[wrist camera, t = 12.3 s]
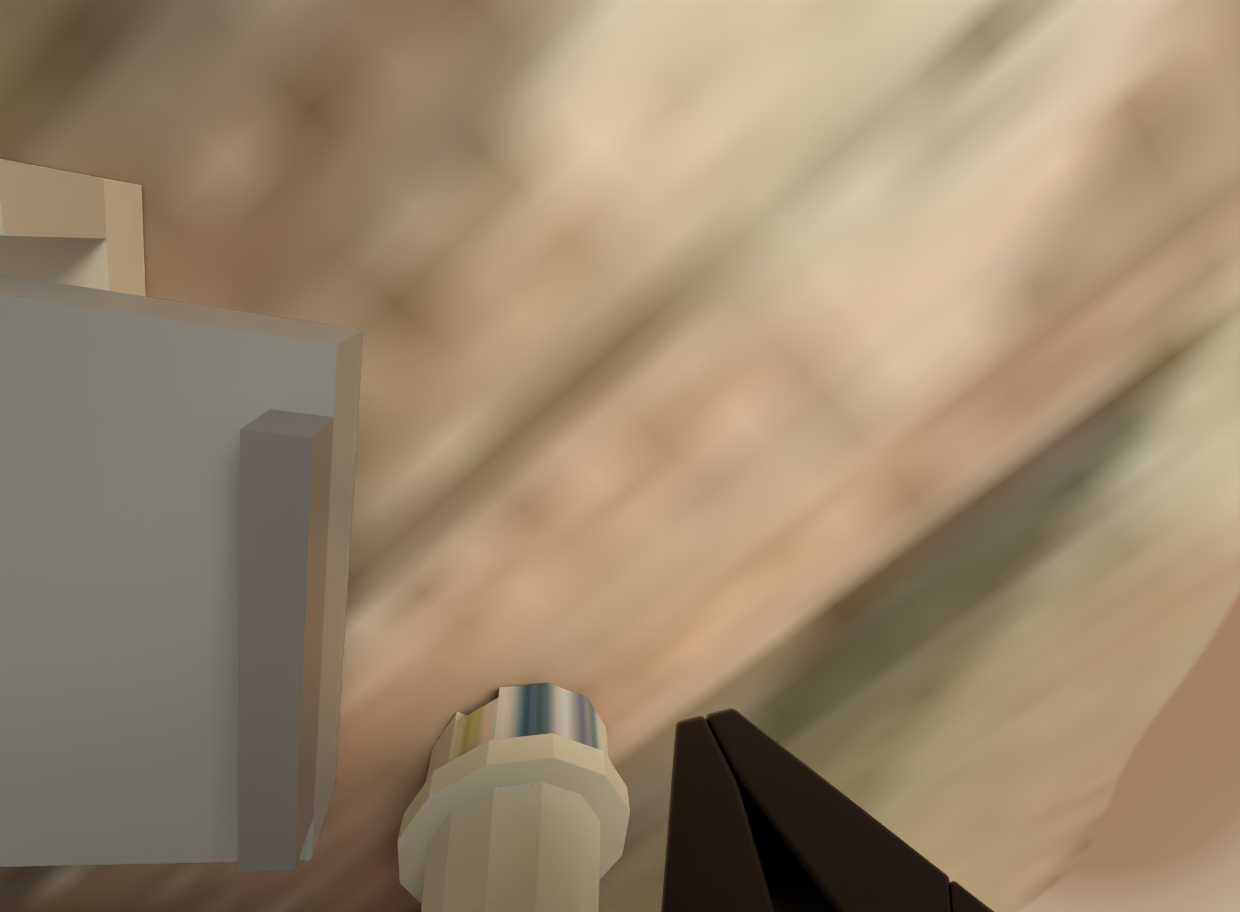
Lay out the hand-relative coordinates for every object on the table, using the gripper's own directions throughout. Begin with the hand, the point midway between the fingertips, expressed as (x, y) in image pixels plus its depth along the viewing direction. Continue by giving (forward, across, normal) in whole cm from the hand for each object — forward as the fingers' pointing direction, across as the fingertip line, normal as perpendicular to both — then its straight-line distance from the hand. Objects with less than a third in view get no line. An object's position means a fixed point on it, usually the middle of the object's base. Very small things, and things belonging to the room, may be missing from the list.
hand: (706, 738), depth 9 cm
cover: (+4, +9, -3) cm, 10 cm away
